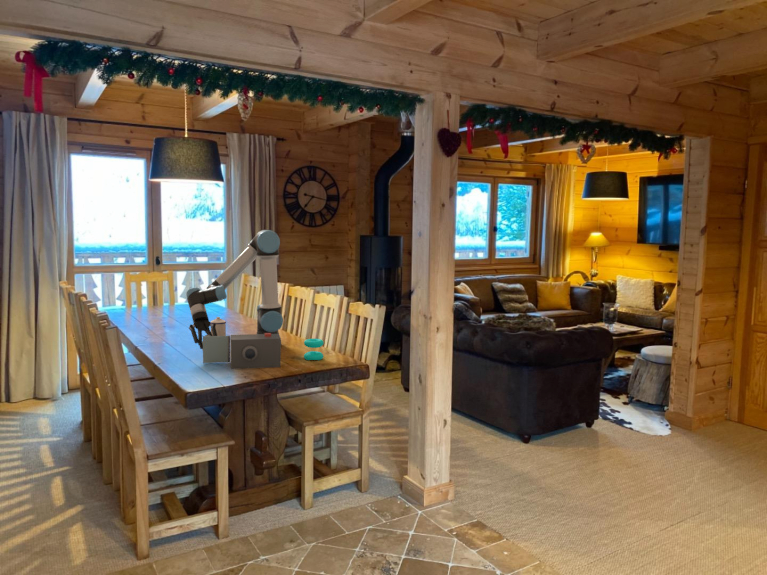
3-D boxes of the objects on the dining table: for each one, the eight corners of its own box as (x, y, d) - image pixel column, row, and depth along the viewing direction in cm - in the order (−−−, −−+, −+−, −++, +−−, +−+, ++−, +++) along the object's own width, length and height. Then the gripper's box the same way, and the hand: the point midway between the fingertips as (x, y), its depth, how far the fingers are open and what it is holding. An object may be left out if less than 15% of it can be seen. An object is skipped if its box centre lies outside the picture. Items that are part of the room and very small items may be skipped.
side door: (230, 359, 306) (229, 333, 304) (230, 362, 299) (229, 336, 297) (203, 359, 302) (203, 334, 301) (203, 363, 296) (202, 336, 294)
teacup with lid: (224, 334, 370) (224, 315, 368) (227, 337, 362) (227, 317, 361) (203, 335, 364) (203, 316, 363) (207, 338, 356) (207, 318, 355)
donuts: (308, 337, 318) (326, 338, 315) (308, 356, 319) (326, 357, 316) (300, 340, 308) (319, 342, 306) (300, 360, 309) (319, 362, 307)
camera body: (230, 363, 300) (230, 332, 298) (277, 361, 306) (278, 331, 304) (231, 370, 286) (231, 338, 285) (281, 368, 292) (281, 336, 291)
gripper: (213, 318, 319) (224, 356, 307) (181, 320, 309) (190, 359, 297) (217, 309, 314) (228, 348, 302) (184, 311, 304) (194, 350, 293)
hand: (209, 353), depth 300 cm, fingers open, 4 cm apart
